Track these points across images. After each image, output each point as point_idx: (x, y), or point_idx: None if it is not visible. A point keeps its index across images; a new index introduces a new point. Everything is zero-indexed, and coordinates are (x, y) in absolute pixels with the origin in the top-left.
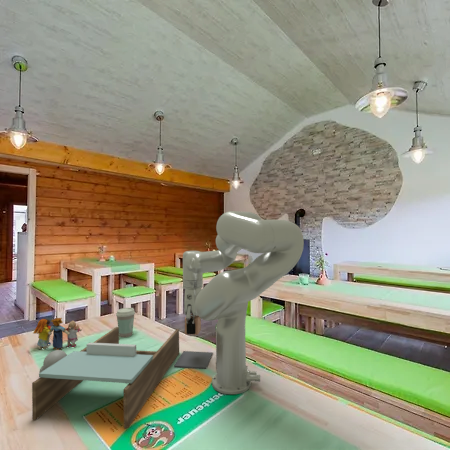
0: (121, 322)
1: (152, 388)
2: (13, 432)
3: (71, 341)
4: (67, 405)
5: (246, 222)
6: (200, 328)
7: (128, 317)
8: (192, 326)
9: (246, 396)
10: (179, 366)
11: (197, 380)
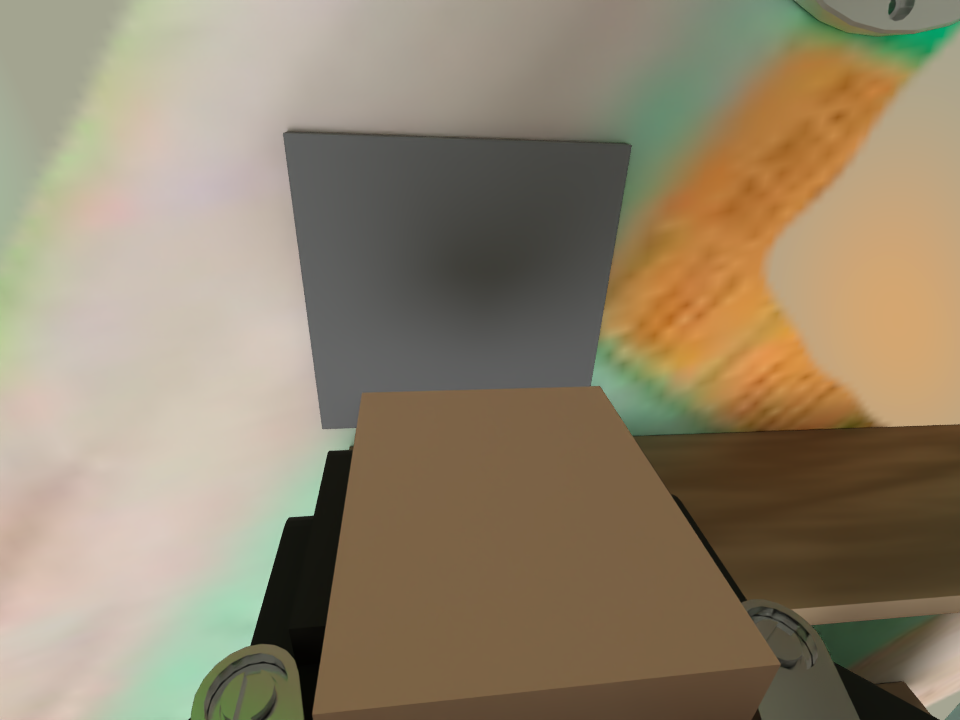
0: None
1: (878, 441)
2: (943, 688)
3: None
4: (849, 657)
5: None
6: (393, 414)
7: None
8: (723, 572)
9: None
10: (591, 380)
11: (797, 186)
